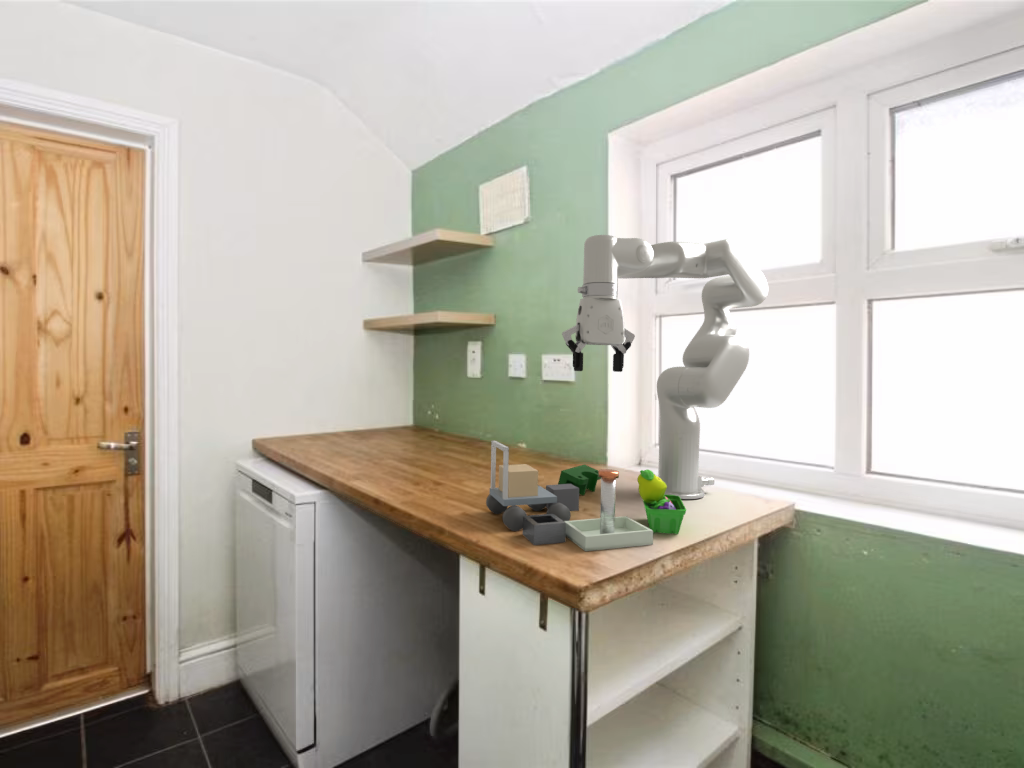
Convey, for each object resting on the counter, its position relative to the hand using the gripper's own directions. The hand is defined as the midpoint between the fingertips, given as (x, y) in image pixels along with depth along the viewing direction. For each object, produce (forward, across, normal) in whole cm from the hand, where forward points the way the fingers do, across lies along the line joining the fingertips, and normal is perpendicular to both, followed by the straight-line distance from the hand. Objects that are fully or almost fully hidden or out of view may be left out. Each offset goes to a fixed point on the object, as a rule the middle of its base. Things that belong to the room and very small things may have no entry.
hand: (598, 371), depth 117 cm
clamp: (+31, +3, +14) cm, 34 cm away
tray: (+30, -8, -20) cm, 37 cm away
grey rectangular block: (+30, -8, 0) cm, 31 cm away
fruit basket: (+31, +6, -16) cm, 35 cm away
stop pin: (+30, -8, -20) cm, 37 cm away
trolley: (+30, -18, -5) cm, 36 cm away
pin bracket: (+30, -19, -17) cm, 40 cm away
